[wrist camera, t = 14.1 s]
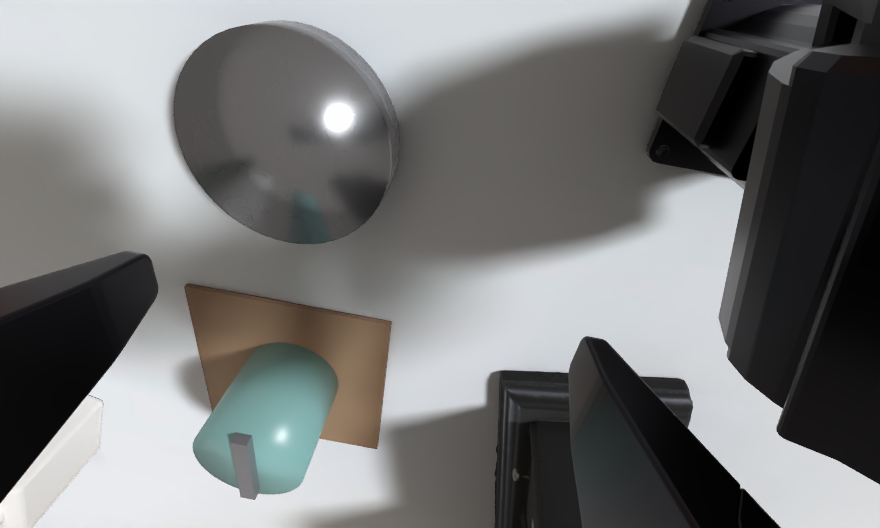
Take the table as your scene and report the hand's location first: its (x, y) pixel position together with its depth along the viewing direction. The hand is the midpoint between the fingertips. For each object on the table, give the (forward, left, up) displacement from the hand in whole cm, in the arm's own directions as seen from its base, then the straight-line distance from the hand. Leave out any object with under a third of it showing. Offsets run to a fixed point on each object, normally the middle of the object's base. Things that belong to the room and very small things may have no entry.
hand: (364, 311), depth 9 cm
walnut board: (+7, +17, -12) cm, 22 cm away
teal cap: (+7, +17, -12) cm, 22 cm away
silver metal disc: (+6, +1, -12) cm, 13 cm away
